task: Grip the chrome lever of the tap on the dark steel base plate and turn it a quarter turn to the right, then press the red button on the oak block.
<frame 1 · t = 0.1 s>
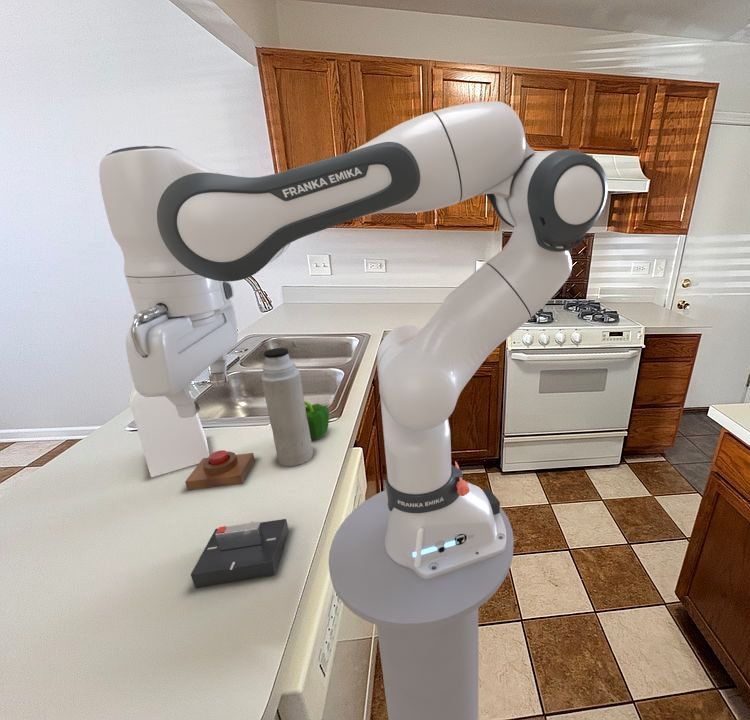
hand: (206, 398, 53), 33 cm above the table, tool pointing down, fingers open, 8 cm apart
button: (218, 457, 90), point 4 cm above the table, slide at 0.1 cm
milk: (181, 457, 98), on the table
bell pepper: (315, 435, 108), on the table
button block: (223, 474, 92), on the table
tap knob: (240, 535, 68), point 5 cm above the table, hinge at 0.0°
thermos bottle: (296, 457, 98), on the table
tap base: (245, 557, 70), on the table
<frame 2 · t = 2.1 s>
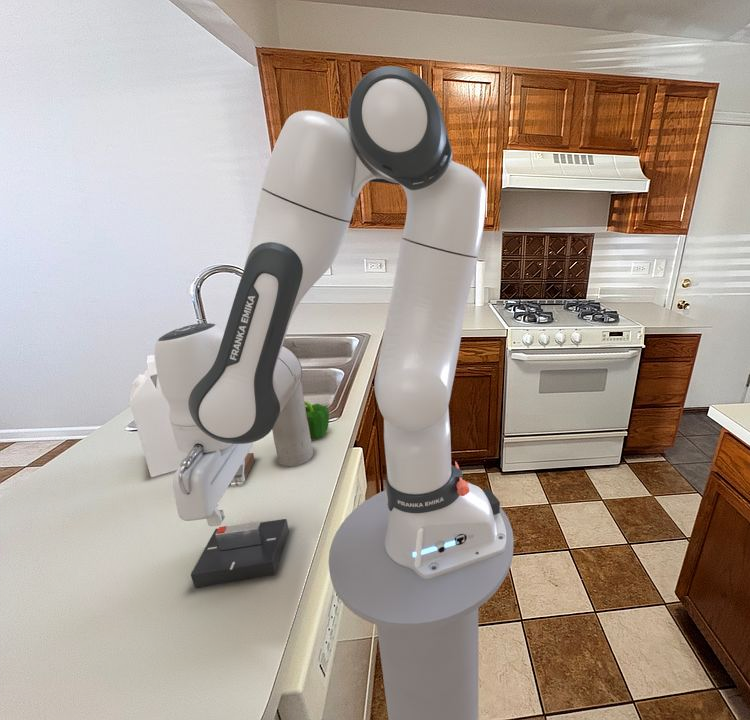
hand: (228, 502, 65), 12 cm above the table, tool pointing down, fingers open, 8 cm apart
nothing on the table moved.
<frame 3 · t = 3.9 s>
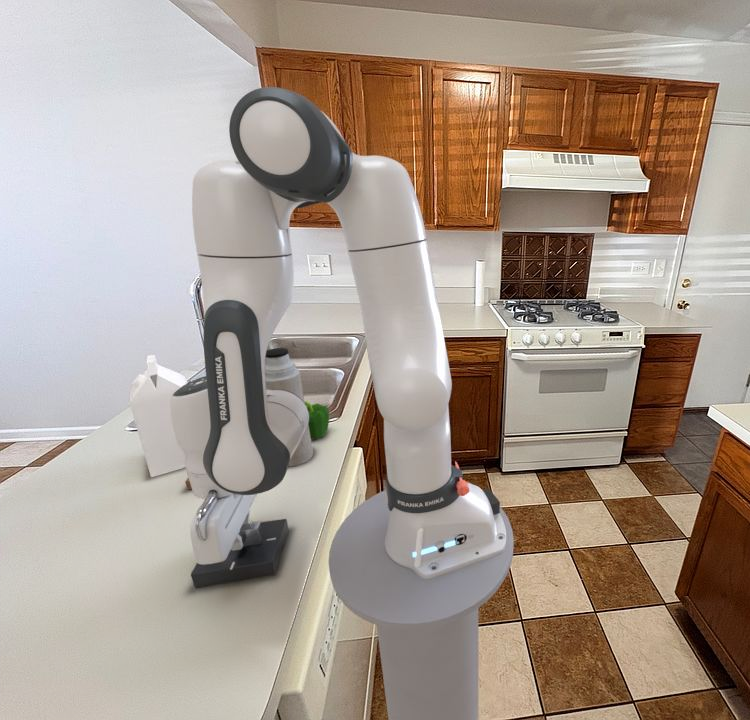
hand: (241, 540, 68), 4 cm above the table, tool pointing down, fingers closed on tap knob, 2 cm apart
tap knob: (240, 535, 68), point 5 cm above the table, hinge at -0.1°, touching gripper
everything else where it was.
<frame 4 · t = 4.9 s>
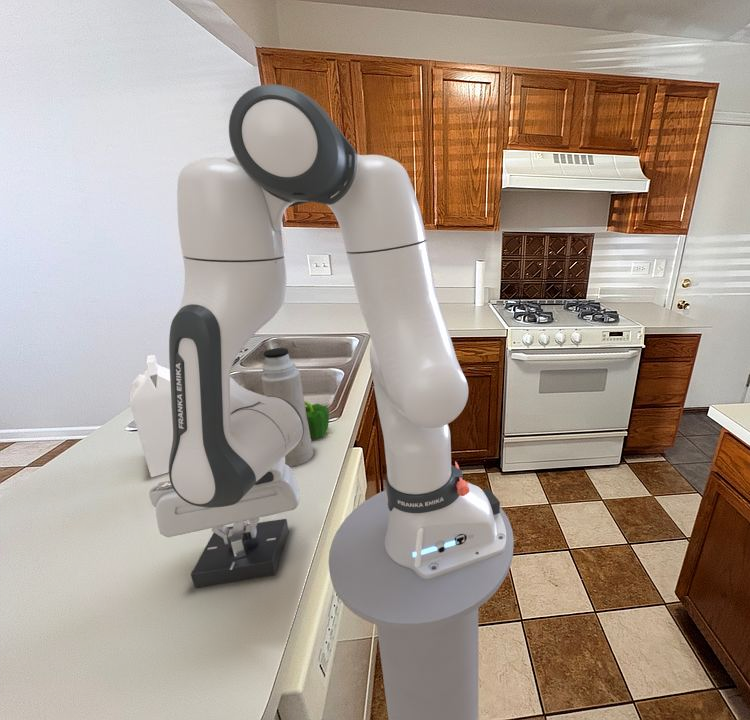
hand: (241, 538, 68), 4 cm above the table, tool pointing down, fingers closed on tap knob, 2 cm apart
tap knob: (240, 535, 68), point 5 cm above the table, hinge at -77.2°, touching gripper
everything else where it was.
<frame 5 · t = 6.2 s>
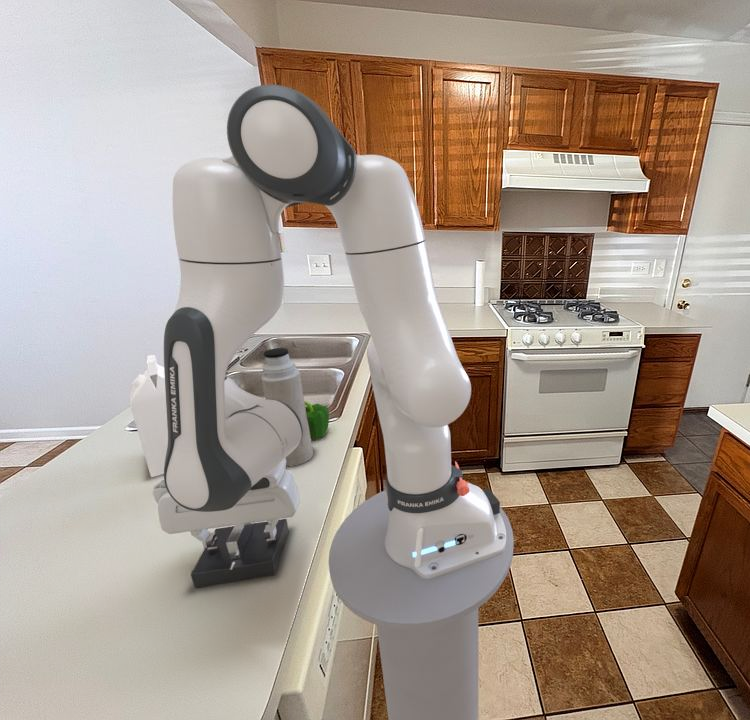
hand: (241, 540, 68), 4 cm above the table, tool pointing down, fingers open, 8 cm apart
tap knob: (240, 535, 68), point 5 cm above the table, hinge at -89.7°
everything else where it was.
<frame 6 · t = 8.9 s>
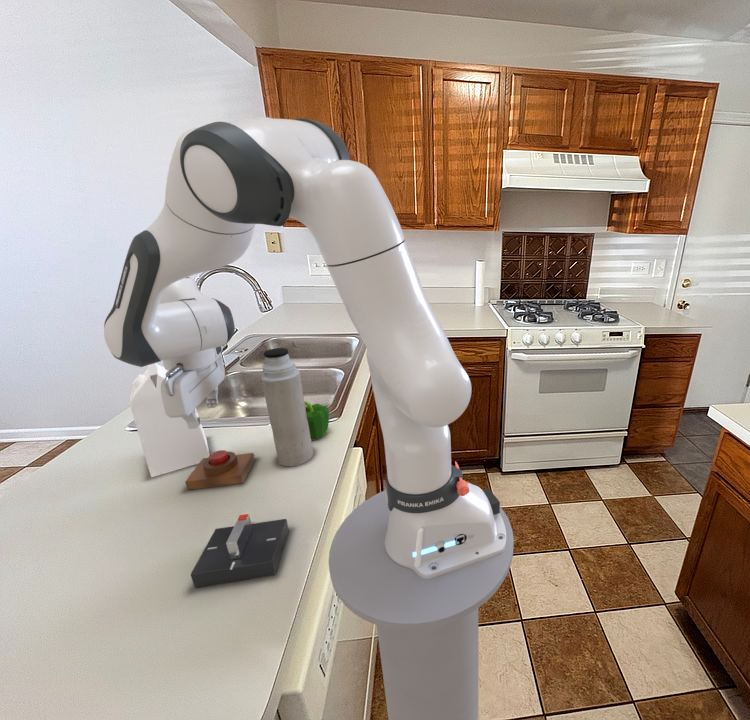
hand: (204, 416, 86), 15 cm above the table, tool pointing down, fingers open, 8 cm apart
nothing on the table moved.
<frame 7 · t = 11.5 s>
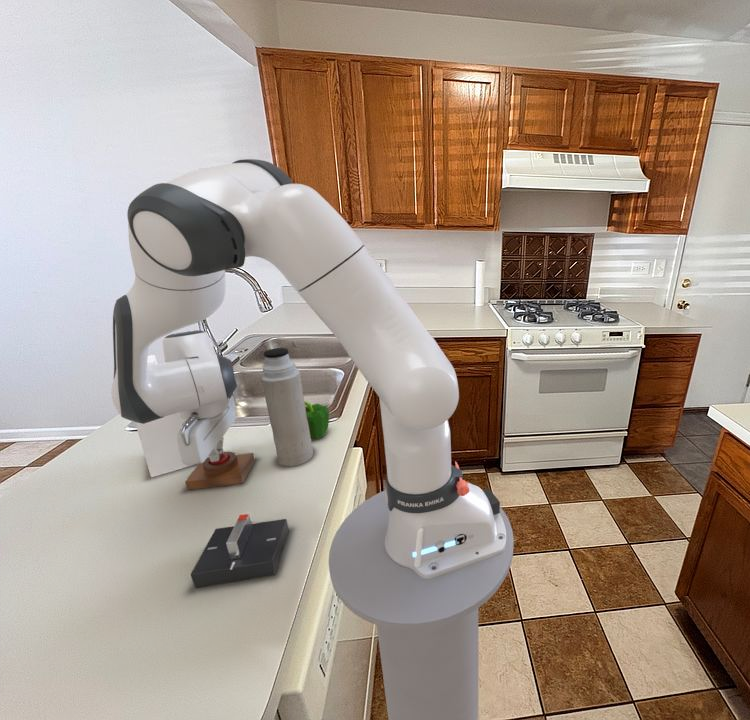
hand: (217, 458, 90), 5 cm above the table, tool pointing down, fingers closed, pressing on button
button: (219, 461, 90), point 4 cm above the table, slide at -0.7 cm, touching gripper
everything else where it was.
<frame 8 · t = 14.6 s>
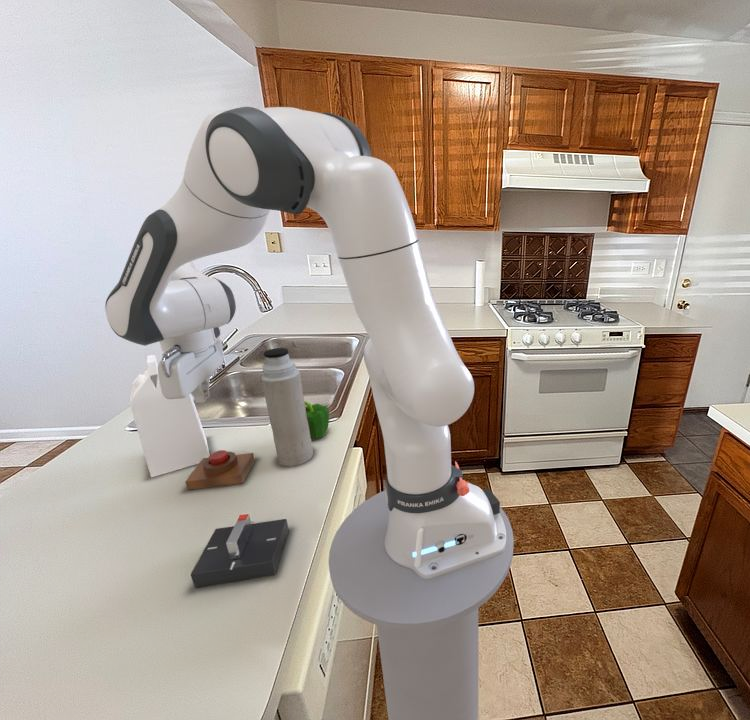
hand: (203, 400, 85), 19 cm above the table, tool pointing down, fingers closed
button: (218, 457, 90), point 4 cm above the table, slide at 0.1 cm
everything else where it was.
at the end: tap knob at -90° (first picture: +0°); button pushed in 1.1 cm at the most during the clip, back to where it started at the end; button slide at 0.1 cm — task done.
